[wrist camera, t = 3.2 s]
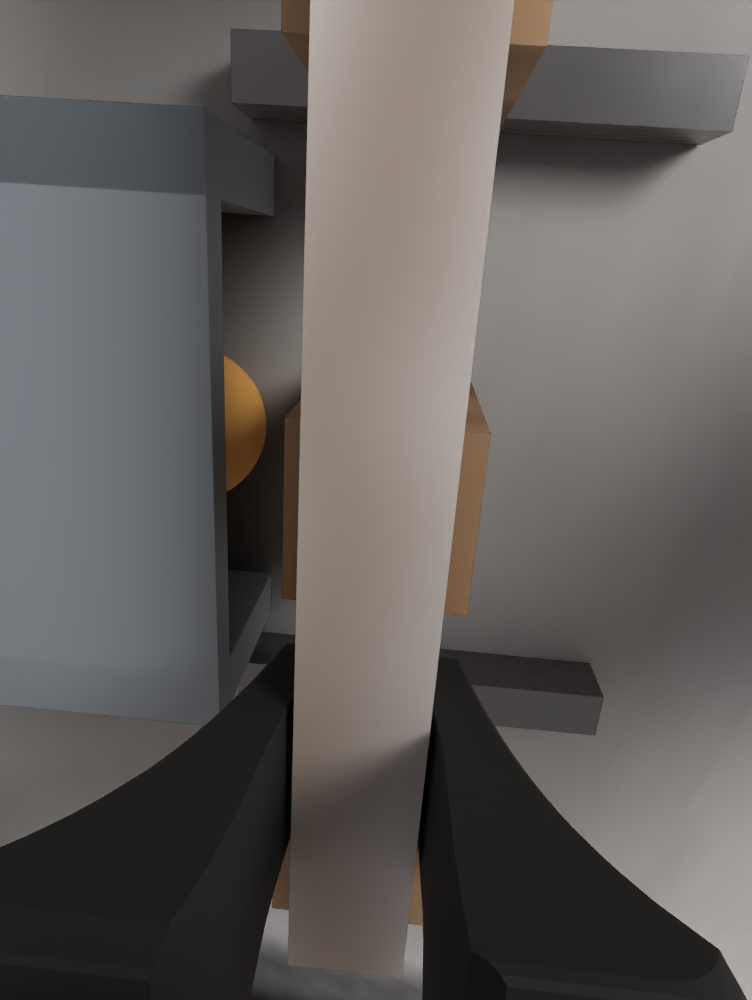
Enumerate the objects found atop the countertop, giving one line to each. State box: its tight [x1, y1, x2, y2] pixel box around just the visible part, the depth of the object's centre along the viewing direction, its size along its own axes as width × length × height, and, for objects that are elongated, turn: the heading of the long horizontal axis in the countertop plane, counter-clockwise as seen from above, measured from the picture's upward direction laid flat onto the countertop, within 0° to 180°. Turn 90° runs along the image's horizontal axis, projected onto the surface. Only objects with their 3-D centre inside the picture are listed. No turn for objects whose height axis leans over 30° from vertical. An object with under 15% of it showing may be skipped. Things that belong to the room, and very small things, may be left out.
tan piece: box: [272, 0, 553, 978], centre depth 12 cm, size 3×16×7 cm, turn 176°
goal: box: [0, 95, 274, 725], centre depth 14 cm, size 6×11×5 cm, turn 176°
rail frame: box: [231, 29, 749, 735], centre depth 15 cm, size 10×15×2 cm, turn 176°
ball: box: [224, 356, 266, 492], centre depth 15 cm, size 4×4×4 cm
